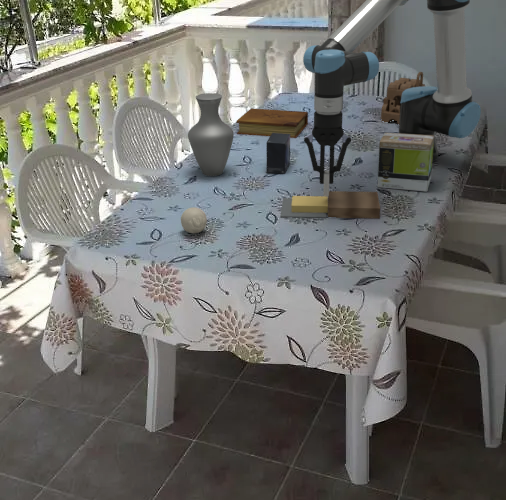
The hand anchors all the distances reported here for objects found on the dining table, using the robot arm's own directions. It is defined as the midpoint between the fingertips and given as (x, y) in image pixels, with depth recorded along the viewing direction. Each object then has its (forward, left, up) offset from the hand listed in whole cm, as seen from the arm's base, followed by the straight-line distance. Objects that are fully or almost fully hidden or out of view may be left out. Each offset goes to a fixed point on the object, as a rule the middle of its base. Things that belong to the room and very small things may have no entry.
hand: (326, 194), depth 193 cm
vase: (+36, -28, -5) cm, 46 cm away
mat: (+6, 0, -5) cm, 8 cm away
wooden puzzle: (-31, -94, -5) cm, 99 cm away
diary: (+20, -77, -5) cm, 80 cm away
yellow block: (+4, 0, -4) cm, 6 cm away
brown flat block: (-8, 0, -5) cm, 9 cm away
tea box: (-24, -20, -5) cm, 31 cm away
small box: (+15, -33, -5) cm, 37 cm away
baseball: (+34, +17, -5) cm, 39 cm away
